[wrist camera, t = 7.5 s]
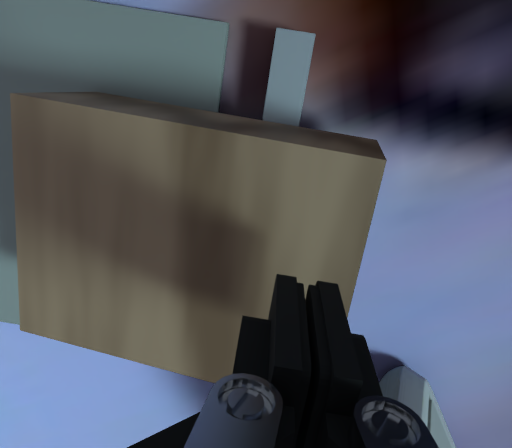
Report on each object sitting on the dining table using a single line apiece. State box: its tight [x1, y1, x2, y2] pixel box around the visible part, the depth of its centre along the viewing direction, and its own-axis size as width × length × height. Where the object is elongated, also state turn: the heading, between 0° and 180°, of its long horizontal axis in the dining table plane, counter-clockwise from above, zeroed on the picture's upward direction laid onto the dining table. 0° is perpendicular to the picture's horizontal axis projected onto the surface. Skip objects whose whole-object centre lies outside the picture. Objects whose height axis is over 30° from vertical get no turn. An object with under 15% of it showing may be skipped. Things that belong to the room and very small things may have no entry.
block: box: [10, 92, 386, 383], centre depth 17 cm, size 5×9×12 cm
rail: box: [262, 28, 316, 127], centre depth 20 cm, size 2×16×2 cm, turn 171°
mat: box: [0, 0, 229, 325], centre depth 20 cm, size 12×16×1 cm
